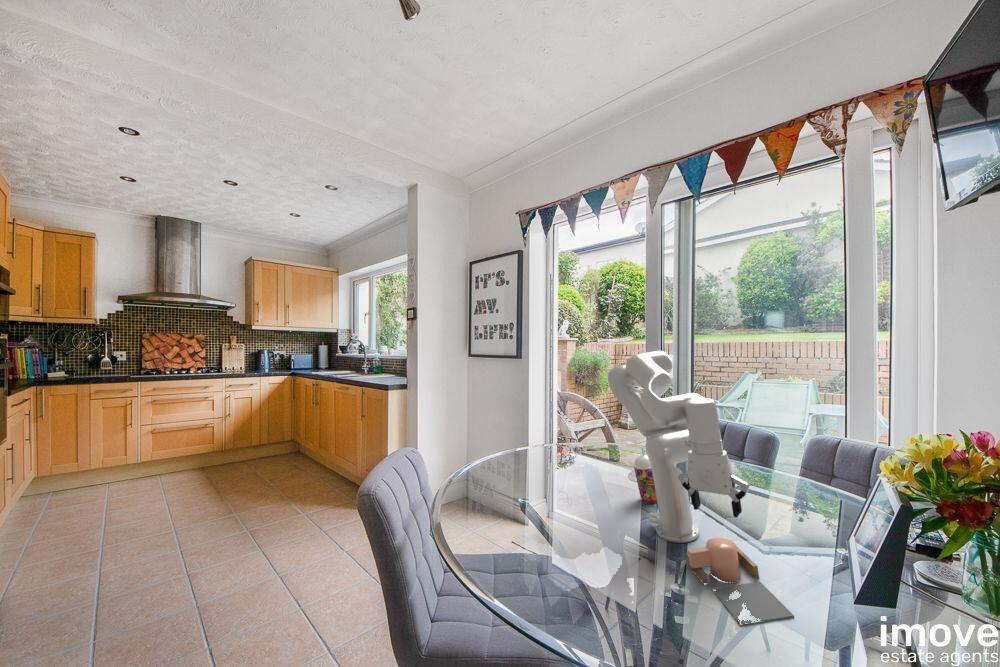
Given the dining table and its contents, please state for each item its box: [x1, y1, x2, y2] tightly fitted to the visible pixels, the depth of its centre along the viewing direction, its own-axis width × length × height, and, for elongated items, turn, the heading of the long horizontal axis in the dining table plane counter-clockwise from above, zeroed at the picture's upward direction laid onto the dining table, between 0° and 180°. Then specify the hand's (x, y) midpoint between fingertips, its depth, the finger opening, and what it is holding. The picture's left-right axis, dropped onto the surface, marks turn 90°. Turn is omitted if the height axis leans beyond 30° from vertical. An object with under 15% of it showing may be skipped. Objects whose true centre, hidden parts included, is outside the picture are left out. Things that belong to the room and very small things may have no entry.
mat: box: [713, 581, 795, 624], centre depth 97 cm, size 12×12×1 cm
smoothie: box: [632, 447, 657, 504], centre depth 155 cm, size 8×8×20 cm
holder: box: [685, 545, 760, 584], centre depth 110 cm, size 10×14×3 cm
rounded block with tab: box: [687, 537, 742, 584], centre depth 108 cm, size 12×7×8 cm, turn 90°
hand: (716, 511), depth 108 cm, fingers open, 9 cm apart
